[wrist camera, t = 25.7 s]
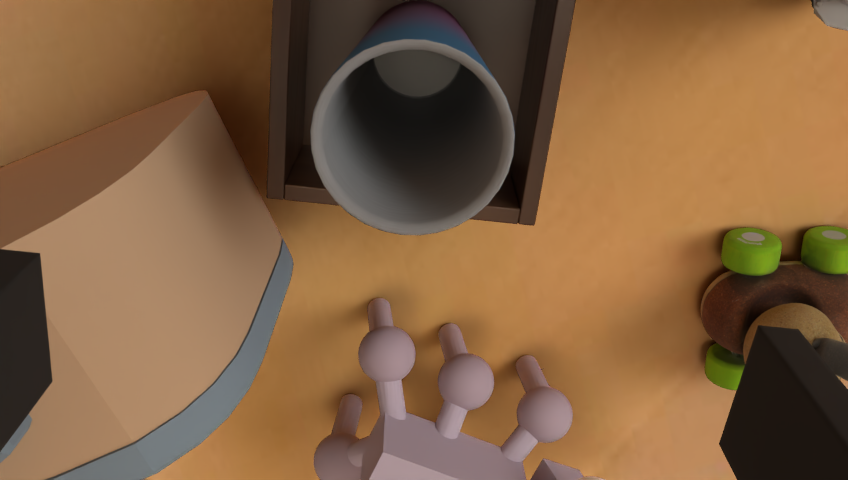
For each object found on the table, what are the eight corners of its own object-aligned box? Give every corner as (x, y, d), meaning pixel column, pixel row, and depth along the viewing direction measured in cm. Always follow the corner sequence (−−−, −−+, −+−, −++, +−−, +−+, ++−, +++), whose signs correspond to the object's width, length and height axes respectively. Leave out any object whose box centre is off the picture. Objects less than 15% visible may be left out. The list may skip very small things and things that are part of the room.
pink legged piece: (676, 389, 50) (759, 560, 37) (592, 510, 54) (641, 700, 41) (378, 270, 46) (361, 414, 34) (312, 408, 50) (275, 582, 38)
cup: (482, -25, 39) (511, 31, 25) (488, 112, 42) (517, 229, 28) (342, -14, 39) (296, 47, 25) (357, 122, 42) (323, 242, 28)
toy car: (831, 361, 49) (937, 489, 39) (686, 364, 49) (753, 493, 39) (861, 222, 45) (987, 324, 35) (703, 226, 45) (782, 329, 35)
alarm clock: (5, 339, 48) (-286, 657, 29) (-92, 202, 45) (-502, 460, 25) (315, 224, 45) (226, 494, 25) (237, 66, 41) (63, 240, 22)
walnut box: (289, 152, 43) (266, 198, 37) (300, -100, 38) (275, -94, 32) (519, 176, 44) (534, 226, 38) (561, -68, 39) (586, -57, 32)
